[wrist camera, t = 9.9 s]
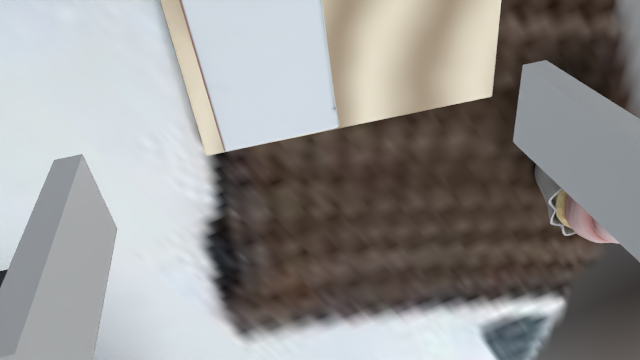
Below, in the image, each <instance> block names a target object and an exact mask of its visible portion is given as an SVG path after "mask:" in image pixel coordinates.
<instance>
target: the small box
mask: <svg viewBox="0 0 640 360" xmlns="http://www.w3.org/2000/svg"><path fill="white" fill-rule="evenodd" d="M179 1H180V4H181V8H182V11H183V14H184V18H185V21H186V24H187V28H188V31H189V35H190V38H191V42H192V45H193V48H194V52H195V55H196V58H197V62H198V65H199V68H200V72H201V75H202V79H203V82H204V86H205V89H206V92H207V95H208V99H209V102H210V105H211V109H212V112H213V115H214V119H215V122H216V126H217V129H218V132H219V136H220V139H221V142H222V146H223V149H224V151H231V150H235V149H240V148H245V147H250V146H254V145H259V144H263V143H268V142H273V141H277V140H282V139H287V138H291V137H296V136H301V135H305V134H310V133H315V132H320V131H324V130H329V129H334V128H337V127H338V126H339V119H338V114H337V108H336V103H335V97H334V90H333V83H332V75H331V66H330V59H329V51H328V44H327V36H326V27H325V19H324V11H323V2H322V0H179Z"/></svg>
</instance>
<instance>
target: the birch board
mask: <svg viewBox="0 0 640 360" xmlns="http://www.w3.org/2000/svg"><path fill="white" fill-rule="evenodd" d="M160 1H161V4H162V8H163V11H164V14H165V18H166V21H167V25H168V28H169V31H170V35H171V38H172V41H173V45H174V48H175V52H176V55H177V58H178V62H179V65H180V69H181V72H182V75H183V79H184V82H185V85H186V89H187V92H188V96H189V99H190V102H191V106H192V109H193V113H194V116H195V119H196V123H197V126H198V129H199V133H200V136H201V140H202V143H203V146H204V150H205V153H206V156H207V155H212V154H217V153H222V152H227V151H224V149H223V146H222V142H221V139H220V136H219V132H218V129H217V126H216V122H215V119H214V115H213V112H212V109H211V105H210V102H209V99H208V95H207V92H206V89H205V86H204V82H203V79H202V75H201V72H200V68H199V65H198V62H197V58H196V55H195V52H194V48H193V45H192V42H191V38H190V35H189V31H188V28H187V24H186V21H185V18H184V14H183V11H182V8H181V4H180V1H179V0H160ZM322 2H323V11H324V19H325V27H326V36H327V44H328V51H329V59H330V66H331V75H332V83H333V90H334V97H335V103H336V108H337V114H338V119H339V126H338V127H337V128H334V129H338V128H342V127H347V126H352V125H357V124H362V123H367V122H371V121H376V120H381V119H386V118H391V117H395V116H400V115H405V114H410V113H415V112H420V111H424V110H429V109H434V108H439V107H444V106H448V105H453V104H458V103H463V102H468V101H473V100H477V99H482V98H487V97H492V91H493V80H494V70H495V60H496V49H497V39H498V29H499V19H500V8H501V0H322ZM329 130H333V129H329ZM324 131H328V130H324ZM320 132H323V131H320ZM315 133H318V132H315ZM310 134H313V133H310ZM305 135H309V134H305ZM301 136H304V135H301ZM296 137H299V136H296ZM291 138H294V137H291ZM287 139H289V138H287ZM282 140H285V139H282ZM277 141H280V140H277ZM273 142H275V141H273ZM268 143H270V142H268ZM263 144H265V143H263ZM259 145H260V144H259ZM254 146H256V145H254ZM250 147H251V146H250ZM245 148H246V147H245ZM240 149H241V148H240ZM235 150H236V149H235ZM231 151H232V150H231Z"/></svg>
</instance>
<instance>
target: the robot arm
mask: <svg viewBox="0 0 640 360" xmlns="http://www.w3.org/2000/svg"><path fill="white" fill-rule="evenodd" d="M513 142H514V143H515V144H516V145H517V146H518V147H519V148H520V149H521V150H522V151H523V152H524V153H525V154H526V155H527V156H528V157H529V158H530V159H531V160H533V161H534V162H535V163H536V164H537V165H538V166H539V167H540V168H541V169H542V170H543V171H544V172H545V173H546V174H547V175H548V176H549V177H550V178H551V179H553V180H554V181H555V182H556V183H557V184H558V185H559V186H560V187H561V188H562V189H563V190H564V191H565V192H566V193H567V194H568V195H569V196H570V197H571V198H573V199H574V200H575V201H576V202H577V203H578V204H579V205H580V206H581V207H582V208H583V209H584V210H585V211H586V212H587V213H588V214H589V215H590V216H592V217H593V218H594V219H595V220H596V221H597V222H598V223H599V224H600V225H601V226H602V227H603V228H604V229H605V230H606V231H607V232H608V233H609V234H610V235H612V236H613V237H614V238H615V239H616V240H617V241H618V242H619V243H620V244H621V245H622V246H623V247H624V248H625V249H626V250H627V251H628V252H629V253H631V254H632V255H633V256H634V257H635V258H636V259H637V260H638V261H639V262H640V119H639V118H637V117H635V116H634V115H632V114H631V113H629V112H627V111H626V110H624V109H623V108H621V107H620V106H618V105H616V104H615V103H613V102H612V101H610V100H608V99H607V98H605V97H604V96H602V95H601V94H599V93H597V92H596V91H594V90H593V89H591V88H589V87H588V86H586V85H585V84H583V83H581V82H580V81H578V80H577V79H575V78H574V77H572V76H570V75H569V74H567V73H566V72H564V71H562V70H561V69H559V68H558V67H556V66H555V65H553V64H551V63H550V62H548V61H547V60H545V61H540V62H535V63H530V64H525V65H523V68H522V76H521V83H520V91H519V99H518V106H517V114H516V122H515V129H514V137H513ZM116 233H117V227H116V225H115V223H114V221H113V219H112V216H111V214H110V212H109V210H108V208H107V206H106V204H105V201H104V199H103V197H102V195H101V193H100V191H99V189H98V186H97V184H96V182H95V180H94V178H93V176H92V173H91V171H90V169H89V167H88V165H87V163H86V161H85V158H84V156H83V154H81V155H76V156H71V157H67V158H62V159H57V160H54V162H53V164H52V166H51V169H50V171H49V173H48V176H47V178H46V181H45V183H44V185H43V188H42V190H41V192H40V195H39V197H38V200H37V202H36V204H35V207H34V209H33V211H32V214H31V216H30V219H29V221H28V223H27V226H26V228H25V230H24V233H23V235H22V238H21V240H20V242H19V245H18V247H17V249H16V252H15V254H14V257H13V259H12V261H11V264H10V266H9V269H8V270H3V271H0V360H93V356H94V351H95V346H96V340H97V335H98V329H99V324H100V319H101V313H102V308H103V303H104V297H105V292H106V287H107V281H108V276H109V270H110V265H111V260H112V254H113V249H114V244H115V238H116Z"/></svg>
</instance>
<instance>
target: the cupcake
mask: <svg viewBox="0 0 640 360" xmlns="http://www.w3.org/2000/svg"><path fill="white" fill-rule="evenodd" d="M535 179H536V182H537V184H538V186H539V188H540V190H541V192H542V194H543V196H544V199H545V201H546V203H547V206H548V213H549V219H550V223H551V224H552V225H556V226H560V227H561V229H562V232H563V234H564V235H565V236H567V235H572V234H575V233H577V234H578V235H580V236H582V237H584V238H586V239H588V240H590V241H593V242H596V243H609V242H613V243H619V242H618V241H617V240H616V239H615V238H614V237H613V236H612V235H610V234H609V233H608V232H607V231H606V230H605V229H604V228H603V227H602V226H601V225H600V224H599V223H598V222H597V221H596V220H595V219H594V218H593V217H592V216H590V215H589V214H588V213H587V212H586V211H585V210H584V209H583V208H582V207H581V206H580V205H579V204H578V203H577V202H576V201H575V200H574V199H573V198H571V197H570V196H569V195H568V194H567V193H566V192H565V191H564V190H563V189H562V188H561V187H560V186H559V185H558V184H557V183H556V182H555V181H554V180H553V179H551V178H550V177H549V176H548V175H547V174H546V173H545V172H544V171H543V170H542V169H541V168H540V167H539V166H538V165H537V164H536V165H535ZM619 244H620V243H619Z"/></svg>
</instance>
